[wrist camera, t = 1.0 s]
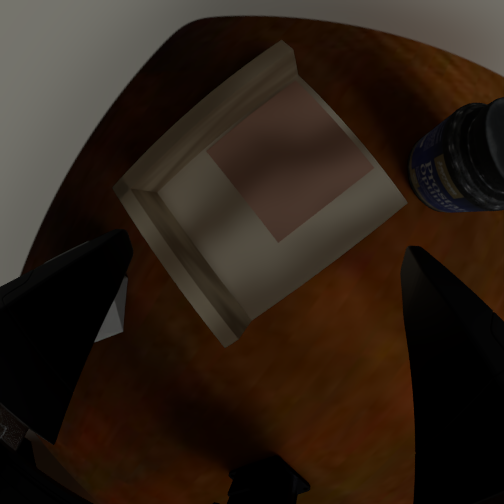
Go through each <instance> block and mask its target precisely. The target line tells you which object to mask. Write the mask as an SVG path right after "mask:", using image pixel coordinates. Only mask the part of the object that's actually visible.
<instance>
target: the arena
mask: <svg viewBox="0 0 504 504" xmlns="http://www.w3.org/2000/svg"><path fill="white" fill-rule="evenodd" d="M113 190H114V192H115V193H116V195H117V196H118V198H119V200H120V201H121V203H122V204H123V206H124V208H125V209H126V211H127V212H128V214H129V215H130V217H131V218H132V220H133V222H134V223H135V225H136V226H137V228H138V229H139V231H140V232H141V234H142V235H143V237H144V238H145V240H146V241H147V243H148V244H149V246H150V247H151V249H152V250H153V252H154V253H155V255H156V256H157V257H158V259H159V260H160V262H161V263H162V265H163V266H164V267H165V269H166V270H167V272H168V273H169V275H170V276H171V277H172V279H173V280H174V282H175V283H176V284H177V286H178V287H179V288H180V290H181V291H182V293H183V294H184V295H185V297H186V298H187V299H188V301H189V302H190V303H191V305H192V306H193V307H194V309H195V310H196V311H197V313H198V314H199V315H200V317H201V318H202V319H203V321H204V322H205V323H206V325H207V326H208V327H209V328H210V330H211V331H212V332H213V334H214V335H215V336H216V337H217V339H218V340H219V341H220V342H221V344H222V345H223V346H224V347H225V348H226V347H227V346H229V345H230V344H232V343H234V342H235V341H237V340H238V339H239V338H240V336H241V335H242V334H243V332H244V331H245V329H246V328H247V326H248V325H249V323H250V322H251V321H252V320H253V319H254V318H256V317H257V316H259V315H260V314H262V313H263V312H264V311H266V310H267V309H269V308H270V307H272V306H273V305H274V304H276V303H277V302H279V301H280V300H282V299H283V298H284V297H286V296H287V295H289V294H290V293H291V292H293V291H294V290H295V289H297V288H298V287H300V286H301V285H302V284H304V283H305V282H307V281H308V280H309V279H311V278H312V277H313V276H315V275H316V274H317V273H319V272H320V271H321V270H323V269H324V268H325V267H327V266H328V265H329V264H331V263H332V262H333V261H335V260H336V259H337V258H339V257H340V256H341V255H343V254H344V253H345V252H347V251H348V250H349V249H350V248H352V247H353V246H354V245H356V244H357V243H358V242H360V241H361V240H362V239H363V238H365V237H366V236H367V235H368V234H370V233H371V232H372V231H374V230H375V229H376V228H377V227H379V226H380V225H381V224H382V223H384V222H385V221H386V220H387V219H389V218H390V217H391V216H392V215H393V214H395V213H396V212H397V211H398V210H400V209H401V208H402V207H403V206H404V205H406V204H407V201H406V200H405V198H404V197H403V196H402V194H401V193H400V191H399V190H398V189H397V187H396V186H395V185H394V183H393V182H392V181H391V179H390V178H389V177H388V175H387V174H386V173H385V171H384V170H383V169H382V167H381V166H380V165H379V164H378V162H377V161H376V160H375V159H374V157H373V156H372V155H371V154H370V152H369V151H368V150H367V149H366V147H365V146H364V145H363V144H362V143H361V141H360V140H359V139H358V138H357V137H356V136H355V134H354V133H353V132H352V131H351V130H350V129H349V128H348V126H347V125H346V124H345V123H344V122H343V121H342V120H341V119H340V117H339V116H338V115H337V114H336V113H335V112H334V111H333V110H332V109H331V108H330V107H329V106H328V105H327V104H326V102H325V101H324V100H323V99H322V98H321V97H320V96H319V95H318V94H317V93H316V92H315V91H314V90H313V89H312V88H311V87H310V86H309V85H308V84H307V83H306V82H305V81H304V80H303V79H302V78H301V77H300V76H298V72H297V66H296V61H295V56H294V51H293V49H292V48H291V47H289V46H288V45H287V44H286V43H285V42H284V41H282V40H281V41H279V42H278V43H276V44H275V45H273V46H272V47H271V48H269V49H268V50H266V51H265V52H263V53H262V54H260V55H259V56H258V57H256V58H255V59H253V60H252V61H251V62H249V63H248V64H247V65H245V66H244V67H243V68H241V69H240V70H239V71H237V72H236V73H235V74H233V75H232V76H231V77H229V78H228V79H227V80H226V81H224V82H223V83H222V84H221V85H219V86H218V87H217V88H216V89H214V90H213V91H212V92H211V93H210V94H208V95H207V96H206V97H205V98H204V99H202V100H201V101H200V102H199V103H198V104H197V105H195V106H194V107H193V108H192V109H191V110H190V111H189V112H187V113H186V114H185V115H184V116H183V117H182V118H181V119H180V120H179V121H177V122H176V123H175V124H174V125H173V126H172V127H171V128H170V129H169V130H168V131H167V132H166V133H165V134H164V135H163V136H161V137H160V138H159V139H158V140H157V141H156V142H155V143H154V144H153V145H152V146H151V147H150V148H149V149H148V150H147V151H146V152H145V153H144V154H143V155H142V156H141V157H140V158H139V159H138V160H137V161H136V163H135V164H134V165H133V166H132V167H131V168H130V169H129V170H128V171H127V172H126V173H125V174H124V175H123V176H122V178H121V179H120V180H119V181H118V182H117V183H116V184H115V185H114V186H113Z"/></svg>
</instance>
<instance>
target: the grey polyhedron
mask: <svg viewBox="0 0 504 504" xmlns="http://www.w3.org/2000/svg"><path fill="white" fill-rule="evenodd" d="M87 242H89V241H87ZM87 242H85V243H87ZM85 243H83V244H85ZM83 244H81V245H83ZM81 245H79V246H81ZM79 246H77V247H79ZM77 247H75V248H77ZM75 248H72V249H75ZM72 249H70V250H72ZM70 250H68V251H70ZM68 251H66V252H68ZM66 252H64V253H66ZM64 253H62V254H64ZM62 254H60V255H62ZM60 255H59V256H60ZM57 257H58V256H57ZM55 258H56V257H55ZM55 258H53V259H55ZM53 259H51V260H53ZM51 260H49V261H51ZM49 261H47V262H49ZM47 262H45V263H47ZM127 282H128V278H127V277H126V276H124V279H123V281H122V284H121V286H120V289H119V291H118V293H117V295H116V297H115V299H114V301H113V303H112V305H111V307H110V309H109V312H108V314H107V316H106V318H105V320H104V322H103V324H102V326H101V328H100V331H99V333H98V335H97V337H96V339H95V342H97V341H99V340H102V339H105V338H107V337H110V336H113V335H115V334H118V333H121V332H123V324H124V312H125V301H126V291H127Z"/></svg>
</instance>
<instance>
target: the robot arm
mask: <svg viewBox="0 0 504 504" xmlns="http://www.w3.org/2000/svg"><path fill="white" fill-rule="evenodd" d="M132 257H133V248H132V244H131V241H130V238H129V235H128V232H127V231H126V230H124V229H115V230H113V231H110V232H108V233H106V234H104V235H102V236H100V237H97V238H95V239H93V240H91V241H89V242H87V243H85V244H83V245H81V246H79V247H77V248H75V249H72V250H70V251H68V252H66V253H64V254H62V255H60V256H58V257H56V258H55V259H53V260H51V261H49V262H47V263H45V264H43V265H41V266H39V267H37V268H35V270H31V271H30V272H28V273H26V274H24V275H22V276H20V277H18V278H16V279H15V280H13V281H11V282H9V283H7V284H5V285H3V286H1V287H0V504H93V503H91V502H89V501H88V500H86V499H84V498H82V497H80V496H79V495H77V494H76V493H74V492H72V491H71V490H69V489H67V488H66V487H64V486H63V485H61V484H60V483H58V482H57V481H55V480H54V479H52V478H51V477H49V476H47V475H46V474H45V473H43V472H42V471H41V470H39V469H38V468H37V467H36V463H35V459H34V455H33V450H32V445H31V442H30V441H29V440H28V439H26V438H25V435H26V433H27V431H28V429H30V430H32V431H33V432H35V433H36V434H38V435H39V436H41V437H42V438H44V439H45V440H47V441H48V442H50V443H51V444H53V445H54V444H55V442H56V440H57V437H58V434H59V431H60V428H61V425H62V422H63V419H64V416H65V413H66V411H67V408H68V405H69V403H70V400H71V397H72V395H73V392H74V389H75V386H76V384H77V381H78V379H79V376H80V374H81V372H82V369H83V367H84V364H85V362H86V360H87V357H88V355H89V353H90V351H91V348H92V346H93V344H94V342H95V339H96V337H97V335H98V333H99V331H100V328H101V326H102V324H103V322H104V320H105V318H106V316H107V314H108V312H109V309H110V307H111V305H112V303H113V301H114V299H115V297H116V295H117V293H118V291H119V289H120V286H121V284H122V281H123V279H124V276H125V274H126V271H127V269H128V266H129V264H130V262H131V259H132ZM401 286H402V300H403V316H404V325H405V331H406V338H407V345H408V352H409V360H410V369H411V378H412V389H413V402H414V419H415V452H416V454H415V485H414V502H413V504H504V321H503V320H502V319H501V318H500V317H499V316H498V315H497V314H496V313H495V312H493V310H492V309H491V308H490V307H489V306H488V305H486V304H485V303H484V302H483V301H482V300H481V299H480V298H479V297H478V296H477V295H476V294H475V293H474V292H473V291H472V290H471V289H469V288H468V287H467V286H466V285H465V284H464V283H463V282H462V281H461V280H459V279H458V278H457V277H456V276H455V275H454V274H453V273H452V272H450V271H449V270H448V269H447V268H446V267H445V266H443V265H442V264H441V263H440V262H439V261H438V260H436V259H435V258H434V257H433V256H432V255H430V254H429V253H428V252H427V251H425V250H424V249H423V248H422V247H420V246H408V247H407V249H406V252H405V256H404V260H403V263H402V267H401ZM274 460H276V461H274ZM229 477H230V478H231V479H232V480H233V482H232V484H231V487H230V489H229V491H228V496H229V500H228V502H227V504H296V501H297V495H298V494H301V493H304V492H307V491H309V490H310V485H309V484H308V483H307V482H306V481H305V480H303V479H302V478H301V477H300V476H299V475H298V474H297V473H296V472H295V471H294V470H292V469H291V468H290V467H289V466H288V465H287V464H286V463H285V462H284V461H283V460H282V459H281V458H280V457H278V456H272V457H270V458H267V459H264V460H262V461H259V462H255V463H252V464H249V465H247V466H244V467H241V468H238V469H236V470H232V471H230V472H229ZM213 504H219V503H215V502H214V503H213Z"/></svg>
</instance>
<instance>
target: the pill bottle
mask: <svg viewBox="0 0 504 504" xmlns="http://www.w3.org/2000/svg"><path fill="white" fill-rule="evenodd" d="M408 176H409V181H410V184H411V187H412V189H413V191H414V192H415V194H416V195H417V196H418V198H419V199H420V200H421V201H422V202H423V203H424V204H425V205H427V206H428V207H429V208H431V209H433V210H435V211H439V212H473V211H499V210H504V97H502V98H498V99H496V100H494V101H493V102H491V103H489V104H488V105H487V104H483V103H471V104H470V103H469V104H467V105H465V106H462V107H461V108H459V109H458V110H456V111H455V112H454V113H453V114H452V115H450V116H449V117H448V118H447V119H445V120H444V121H443V122H441V123H440V124H439V125H438V126H436V127H435V128H434V129H433V130H431V131H430V132H429V133H428V134H426V135H425V136H424V137H422V138H421V139H420V140H419V141H418V142H417V143H416V144H415V145H414V146H413V148H412V150H411V152H410V154H409V158H408Z"/></svg>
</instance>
